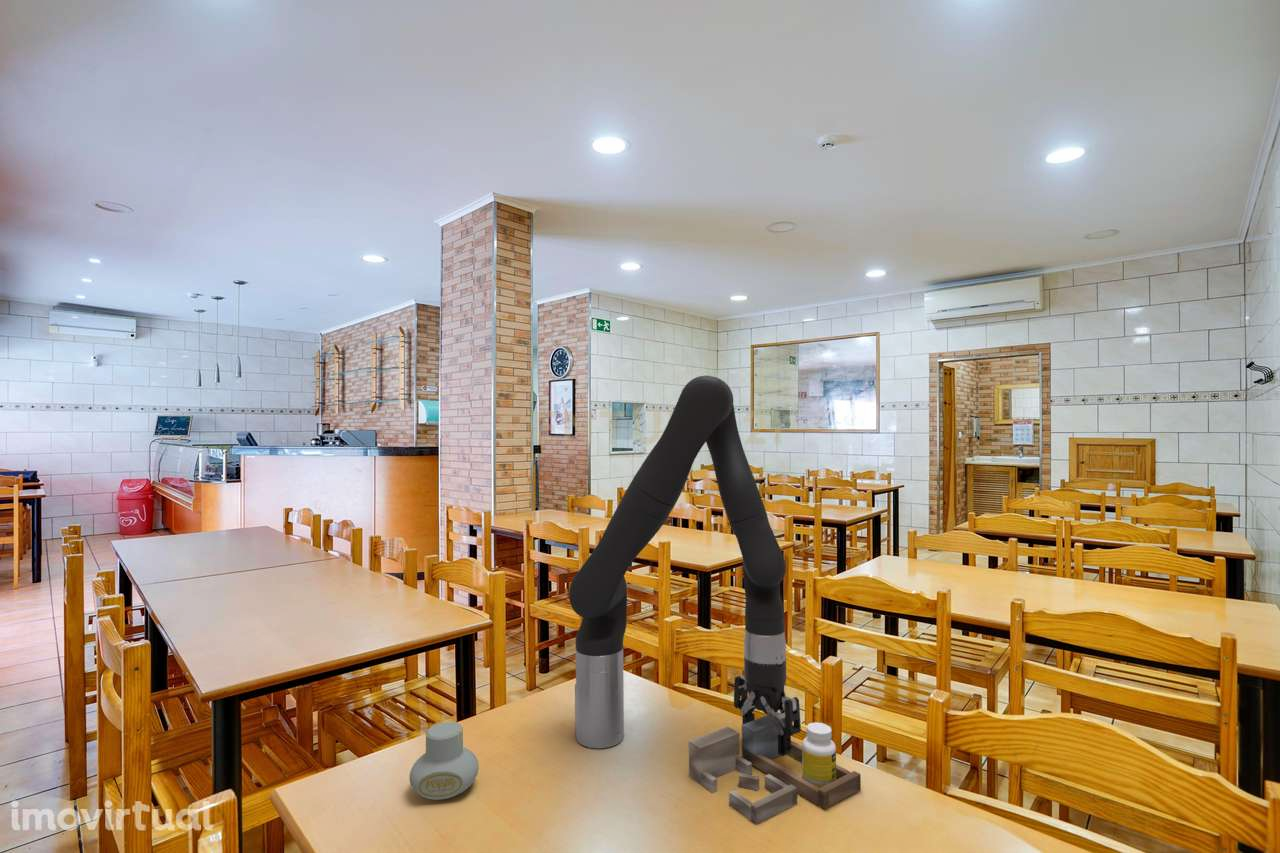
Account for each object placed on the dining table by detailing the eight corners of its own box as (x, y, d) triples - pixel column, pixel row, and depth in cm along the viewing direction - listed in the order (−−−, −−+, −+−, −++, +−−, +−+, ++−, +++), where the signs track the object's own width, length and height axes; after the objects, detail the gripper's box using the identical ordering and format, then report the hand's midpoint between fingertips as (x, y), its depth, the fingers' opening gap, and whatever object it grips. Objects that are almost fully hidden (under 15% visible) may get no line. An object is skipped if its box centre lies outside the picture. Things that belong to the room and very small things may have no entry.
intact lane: (742, 758, 110) (741, 724, 110) (777, 743, 115) (776, 711, 115) (824, 809, 95) (824, 770, 95) (860, 789, 100) (860, 752, 100)
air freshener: (404, 807, 97) (404, 744, 97) (415, 778, 105) (415, 720, 105) (475, 801, 99) (475, 738, 99) (481, 772, 107) (480, 715, 107)
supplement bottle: (838, 798, 99) (837, 737, 99) (803, 794, 100) (802, 734, 100) (834, 779, 104) (833, 721, 104) (801, 776, 105) (800, 718, 105)
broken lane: (689, 776, 105) (688, 740, 105) (728, 759, 110) (727, 726, 110) (756, 824, 92) (756, 784, 92) (797, 803, 97) (796, 765, 97)
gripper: (723, 647, 116) (724, 734, 115) (780, 671, 104) (781, 768, 104) (751, 639, 120) (752, 723, 120) (809, 661, 108) (811, 754, 108)
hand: (766, 744), depth 112 cm, fingers open, 8 cm apart
